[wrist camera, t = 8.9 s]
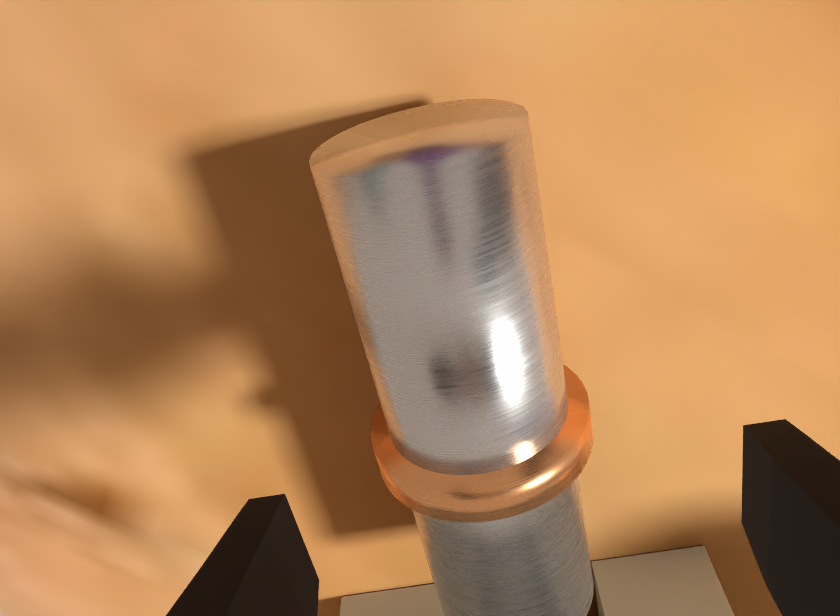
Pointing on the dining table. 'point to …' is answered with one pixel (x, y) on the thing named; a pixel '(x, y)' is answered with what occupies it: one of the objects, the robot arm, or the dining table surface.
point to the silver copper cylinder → (465, 350)
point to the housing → (614, 585)
